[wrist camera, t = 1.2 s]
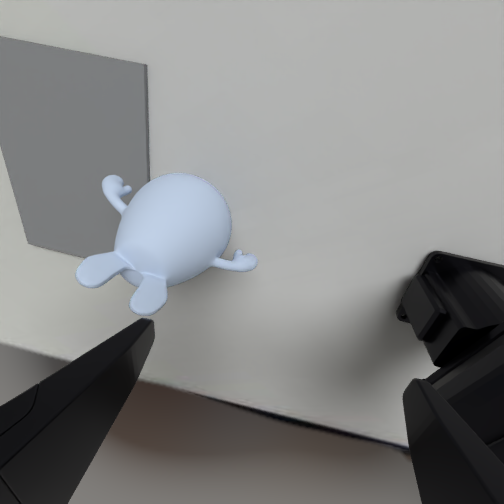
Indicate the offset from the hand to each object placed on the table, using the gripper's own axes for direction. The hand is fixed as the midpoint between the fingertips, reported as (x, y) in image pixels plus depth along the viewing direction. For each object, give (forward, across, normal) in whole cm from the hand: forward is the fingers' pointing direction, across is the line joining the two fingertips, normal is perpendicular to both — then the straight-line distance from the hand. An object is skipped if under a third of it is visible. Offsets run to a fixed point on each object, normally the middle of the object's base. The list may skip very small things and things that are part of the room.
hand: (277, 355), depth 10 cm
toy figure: (+13, +6, 0) cm, 15 cm away
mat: (+13, +17, 0) cm, 22 cm away
